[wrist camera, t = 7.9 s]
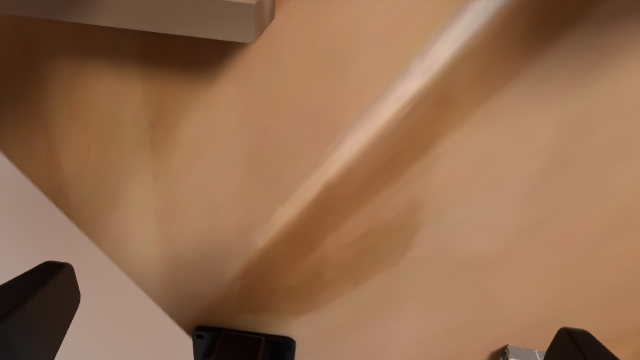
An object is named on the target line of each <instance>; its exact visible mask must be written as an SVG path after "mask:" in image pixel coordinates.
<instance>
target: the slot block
mask: <svg viewBox="0 0 640 360" xmlns="http://www.w3.org/2000/svg"><path fill="white" fill-rule="evenodd" d="M0 14H8V15H17V16H25V17H33V18H42V19H50V20H59V21H67V22H75V23H84V24H92V25H101V26H109V27H118V28H126V29H134V30H143V31H151V32H160V33H168V34H177V35H185V36H193V37H202V38H210V39H219V40H227V41H236V42H244V43H252V44H254V43H255V42H256V41H257V40H258V38H259V37H260V36H261V35H262V33H263V32H264V31H265V29H266V28H267V27H268V26H269V24H270V23H271V22H272V20H273V19H274V15H275V0H0Z"/></svg>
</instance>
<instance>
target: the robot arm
mask: <svg viewBox="0 0 640 360" xmlns="http://www.w3.org/2000/svg"><path fill="white" fill-rule="evenodd" d="M79 303H80V291H79V287H78V283H77V279H76V275H75V271H74V268H73V266H72V265H71V264H69V263H66V262H58V261H46V262H43V263H41V264H39V265H38V266H36V267H34V268H32V269H30V270H29V271H26V272H24V273H23V274H21V275H19V276H17V277H15V278H13V279H11V280H9V281H8V282H6V283H4V284H2V285H0V360H54V359H55V356H56V354H57V352H58V350H59V348H60V346H61V344H62V341H63V339H64V337H65V335H66V333H67V330H68V328H69V326H70V324H71V322H72V320H73V317H74V315H75V313H76V311H77V309H78V306H79ZM192 341H193V353H194V360H295V350H296V342H295V340H293V339H292V338H287V337H280V336H272V335H264V334H257V333H249V332H241V331H234V330H226V329H218V328H211V327H203V326H198V327H196V328H195V329H194V331H193V334H192ZM543 360H620V359H619V358H617V357H616V356H615V355H614V354H613V353H612V352H611V351H610V350H609V349H607V348H606V347H605V346H604V345H603V344H602V343H601V342H600V341H598V340H597V339H596V338H595V337H594V336H593V335H592V334H591V333H589V332H588V331H586V330H584V329H579V328H571V327H562V328H560V329H559V330H558V331H557V333H556V335H555V336H554V338H553V340H552V342H551V344H550V345H549V347H548V349H547V351H546V353H545V355H544V359H543Z"/></svg>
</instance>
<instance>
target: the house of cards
mask: <svg viewBox="0 0 640 360" xmlns="http://www.w3.org/2000/svg"><path fill="white" fill-rule="evenodd" d="M545 353H546V352H542V351H536V350H532V349H525V348H518V347H512V346H509V344H508V345H507V347H506V349H505V351H504V353H503V355H502V356H501V358H500V360H543V359H544V355H545ZM620 360H621V359H620Z"/></svg>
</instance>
